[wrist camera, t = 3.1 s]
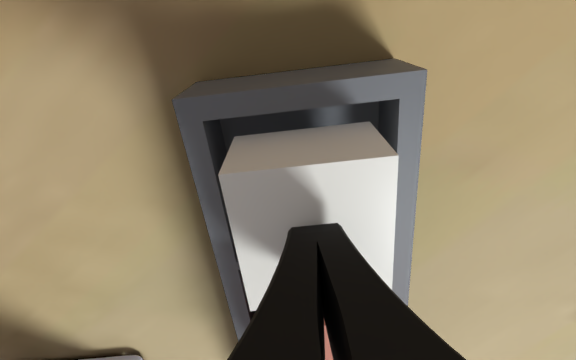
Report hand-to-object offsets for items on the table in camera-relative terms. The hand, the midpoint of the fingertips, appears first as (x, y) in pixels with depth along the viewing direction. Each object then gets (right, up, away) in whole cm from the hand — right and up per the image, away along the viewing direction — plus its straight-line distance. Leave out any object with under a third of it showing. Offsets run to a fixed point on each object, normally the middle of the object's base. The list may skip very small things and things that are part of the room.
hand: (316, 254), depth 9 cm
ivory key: (0, +2, +3) cm, 3 cm away
